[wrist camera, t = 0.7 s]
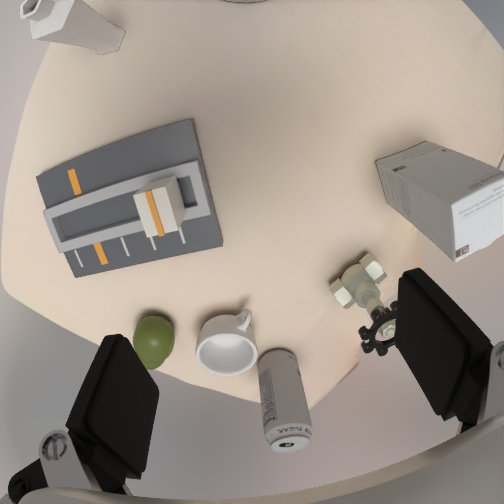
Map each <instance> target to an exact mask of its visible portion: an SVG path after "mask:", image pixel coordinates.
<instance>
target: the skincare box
mask: <svg viewBox="0 0 504 504" xmlns="http://www.w3.org/2000/svg"><path fill="white" fill-rule="evenodd" d="M376 165H377V169H378V172H379V175H380V179H381V182H382V186H383V190H384V193H385V197H386V201H387V204H389V205H390V206H391V207H393V208H394V209H395V210H396V211H397V212H399V213H400V214H401V215H402V216H403V217H405V218H406V219H407V220H408V221H409V222H411V223H412V224H413V225H414V226H415V227H416V228H417V229H419V230H420V231H421V232H422V233H423V234H424V235H426V236H427V237H428V238H429V239H430V240H431V241H432V242H433V243H434V244H435V245H437V247H439V248H440V249H441V250H442V251H443V252H444V253H445V254H446V255H447V256H448V257H449V258H450V259H451V260H452V261H453V262H454V263H456V262H458V261H459V260H461V259H463V258H464V257H466V256H468V255H470V254H471V253H473V252H475V251H477V250H478V249H482V248H485V247H487V246H489V245H490V244H491V243H492V242H493V241H494V240H495V239H497V238H498V237H500V236H501V235H503V234H504V171H502V170H500V169H497V168H495V167H493V166H491V165H488V164H486V163H484V162H481V161H479V160H477V159H474V158H472V157H469V156H467V155H464V154H462V153H459V152H456V151H454V150H451V149H448V148H445V147H442V146H439V145H437V144H434V143H431V142H426V141H425V142H423V143H421V144H419V145H417V146H415V147H412V148H410V149H408V150H405V151H403V152H400V153H397V154H395V155H392V156H389V157H386V158H382V159H379V160H377V161H376Z"/></svg>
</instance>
